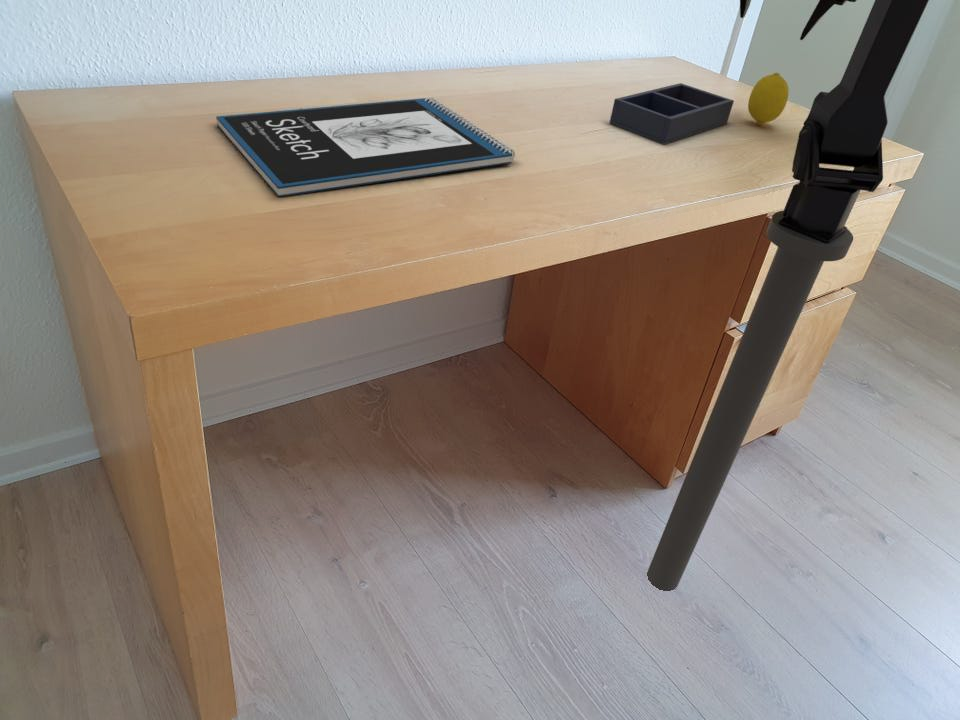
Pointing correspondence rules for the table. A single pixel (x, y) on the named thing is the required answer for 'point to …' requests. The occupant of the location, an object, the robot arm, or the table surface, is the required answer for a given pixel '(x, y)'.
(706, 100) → the holder
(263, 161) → the sketchbook
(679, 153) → the table surface
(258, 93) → the table surface
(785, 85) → the lemon
